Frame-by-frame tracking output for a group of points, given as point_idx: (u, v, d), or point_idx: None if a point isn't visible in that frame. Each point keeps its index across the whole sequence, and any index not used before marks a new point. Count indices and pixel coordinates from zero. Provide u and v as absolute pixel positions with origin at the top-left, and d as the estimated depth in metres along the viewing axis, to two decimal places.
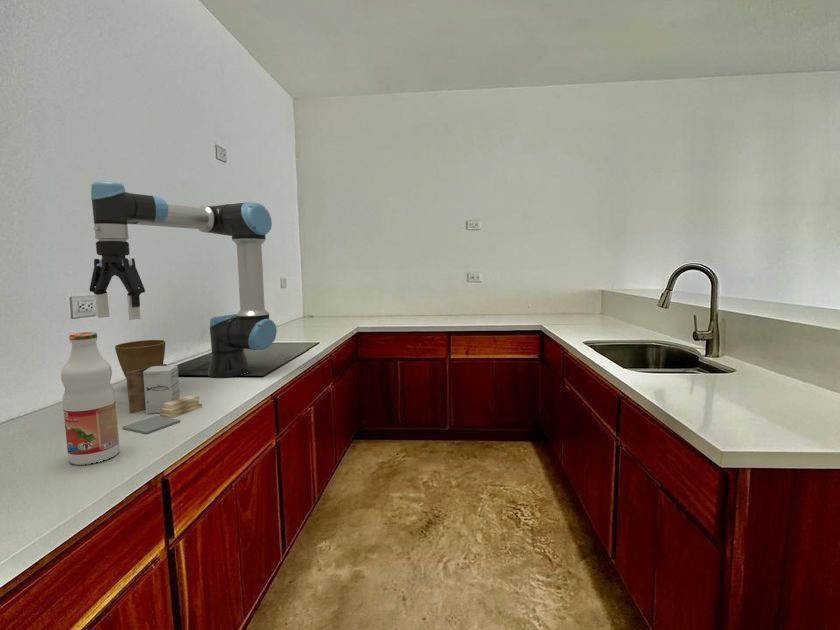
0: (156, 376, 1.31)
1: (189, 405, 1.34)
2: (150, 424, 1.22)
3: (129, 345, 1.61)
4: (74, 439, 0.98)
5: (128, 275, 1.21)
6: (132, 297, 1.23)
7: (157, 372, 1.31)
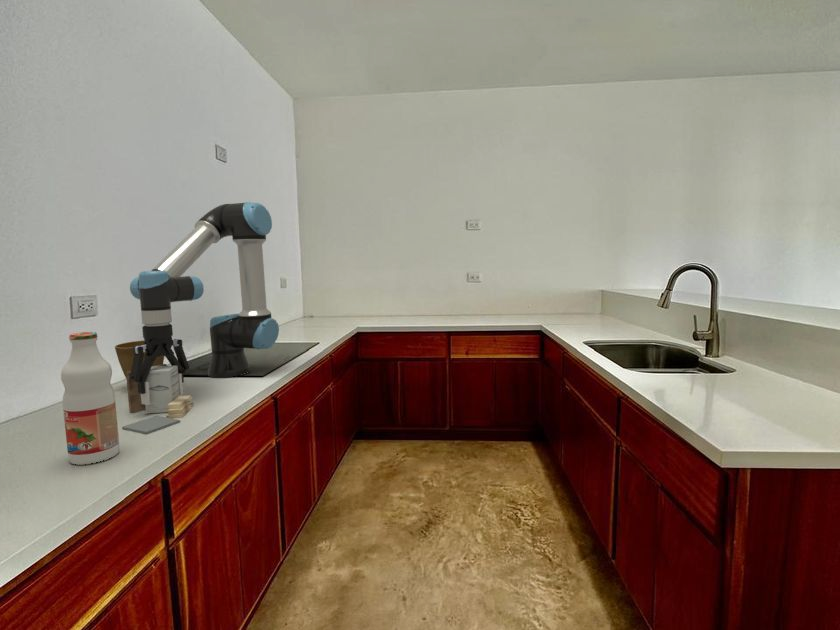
0: (156, 376, 1.31)
1: (187, 404, 1.35)
2: (150, 424, 1.22)
3: (129, 345, 1.61)
4: (74, 439, 0.98)
5: None
6: None
7: (157, 372, 1.31)
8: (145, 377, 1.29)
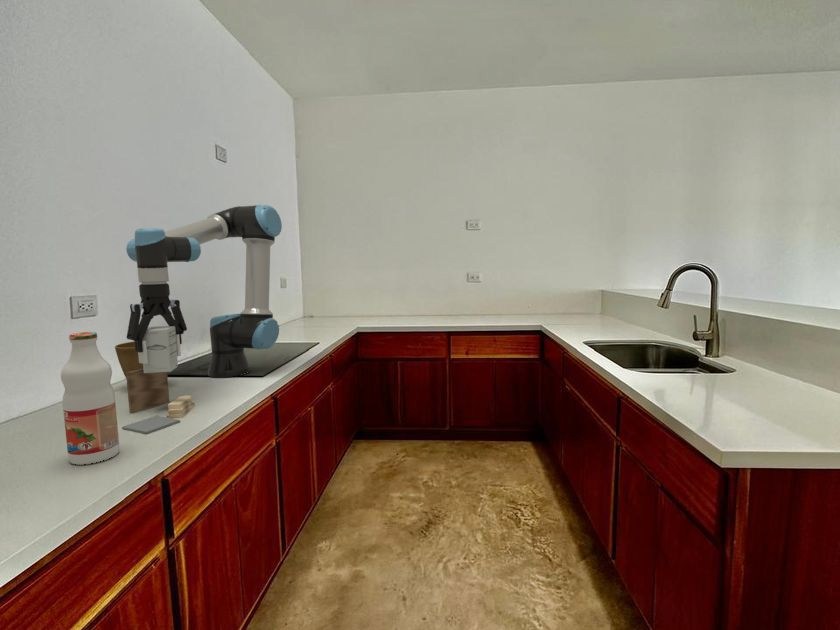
0: (153, 335, 1.30)
1: (188, 404, 1.35)
2: (150, 424, 1.22)
3: (129, 345, 1.61)
4: (74, 439, 0.98)
5: None
6: None
7: (154, 331, 1.30)
8: (142, 335, 1.28)
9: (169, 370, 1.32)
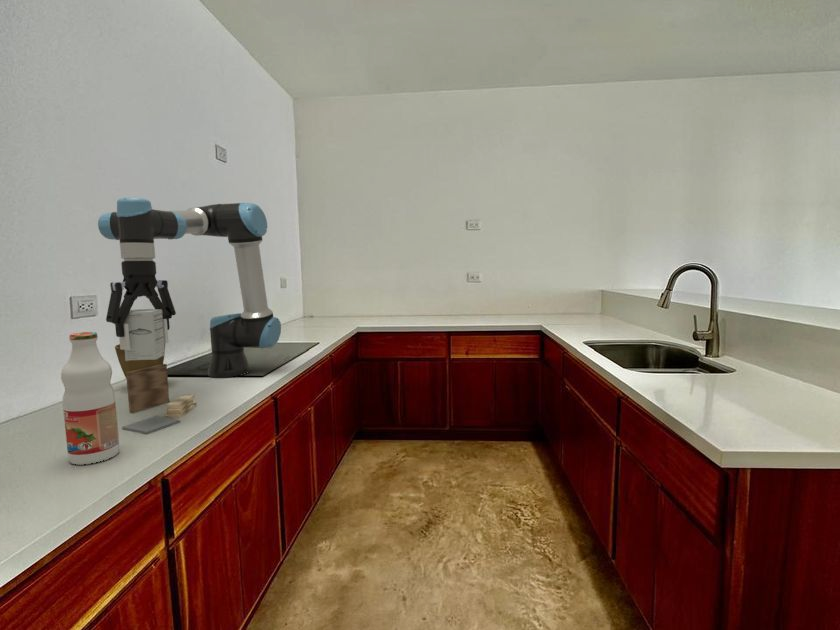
0: (136, 318, 1.16)
1: (189, 404, 1.35)
2: (150, 424, 1.22)
3: None
4: (74, 439, 0.98)
5: None
6: None
7: (138, 313, 1.16)
8: (124, 318, 1.14)
9: (154, 358, 1.18)
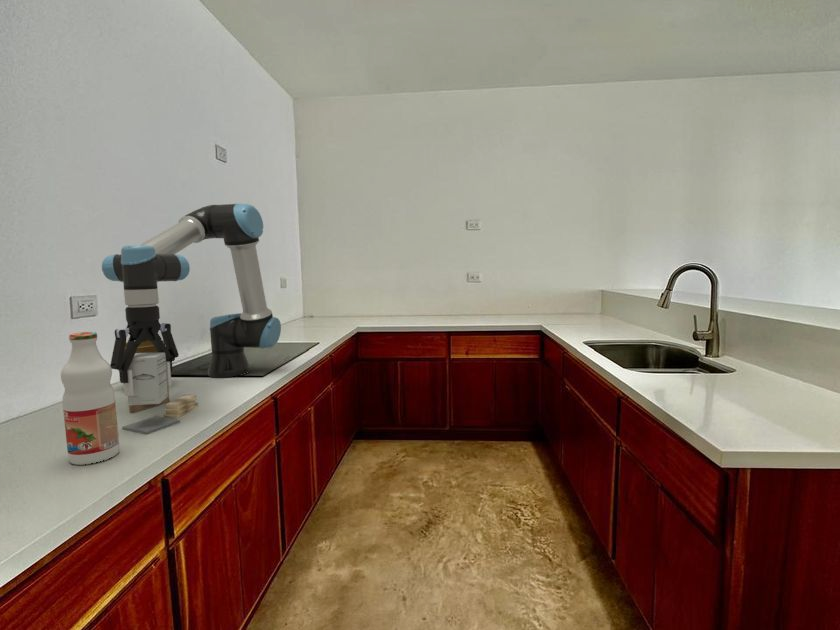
0: (140, 364, 1.17)
1: (189, 404, 1.35)
2: (150, 424, 1.22)
3: None
4: (73, 439, 0.98)
5: None
6: None
7: (142, 359, 1.17)
8: (128, 364, 1.15)
9: (157, 402, 1.19)
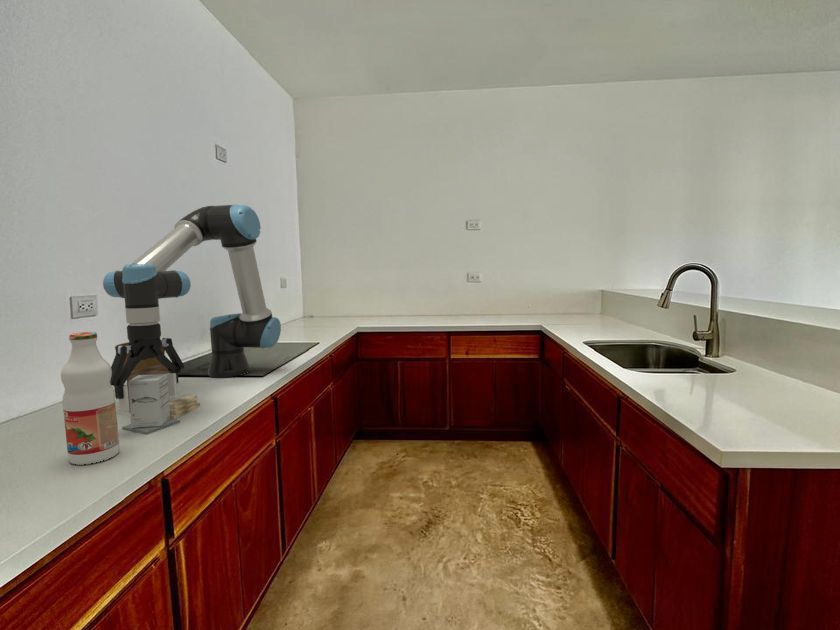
0: (142, 387, 1.18)
1: (189, 405, 1.34)
2: None
3: None
4: (74, 439, 0.98)
5: None
6: None
7: (144, 382, 1.18)
8: (124, 380, 1.14)
9: (159, 424, 1.20)
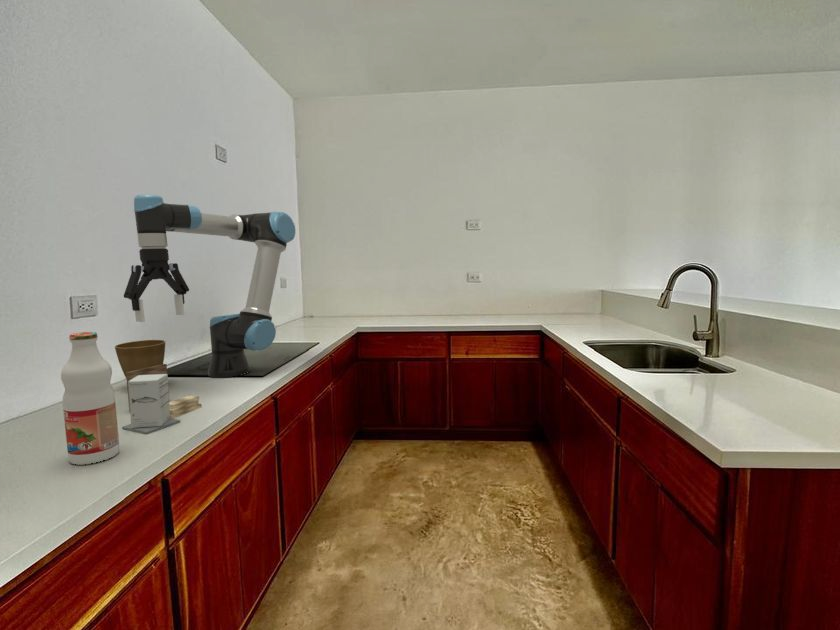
0: (142, 387, 1.18)
1: (189, 405, 1.34)
2: None
3: (129, 345, 1.61)
4: (73, 439, 0.98)
5: None
6: None
7: (144, 382, 1.18)
8: (139, 295, 1.33)
9: (159, 424, 1.20)
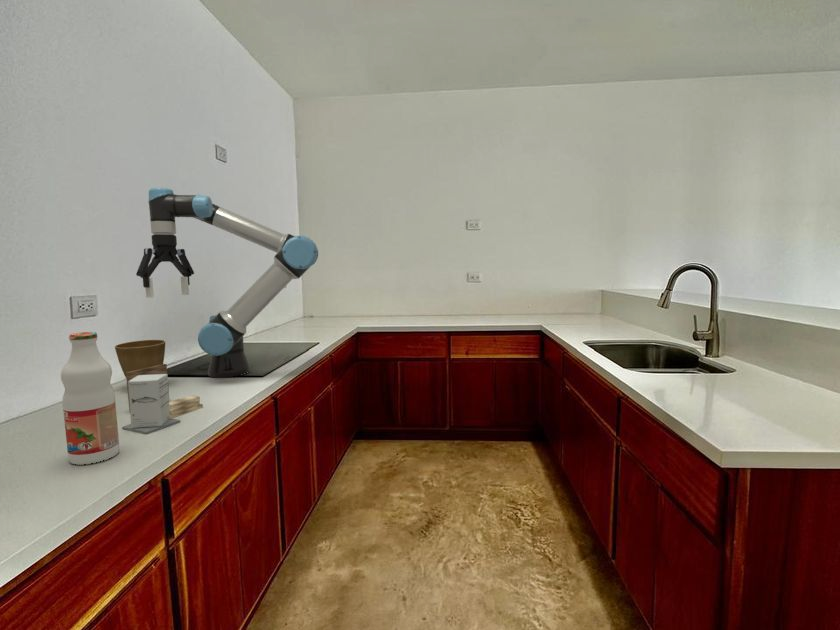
0: (142, 387, 1.18)
1: (189, 405, 1.34)
2: None
3: (129, 345, 1.61)
4: (74, 439, 0.98)
5: None
6: None
7: (144, 382, 1.18)
8: (150, 274, 1.53)
9: (159, 424, 1.20)
